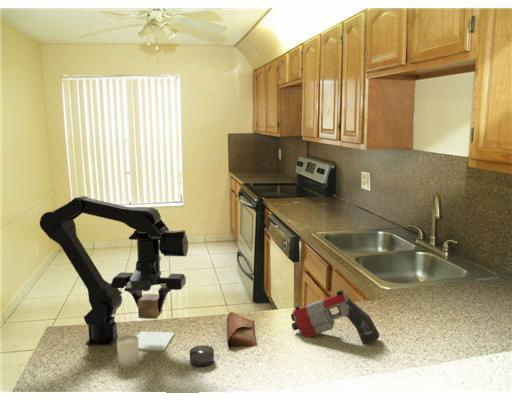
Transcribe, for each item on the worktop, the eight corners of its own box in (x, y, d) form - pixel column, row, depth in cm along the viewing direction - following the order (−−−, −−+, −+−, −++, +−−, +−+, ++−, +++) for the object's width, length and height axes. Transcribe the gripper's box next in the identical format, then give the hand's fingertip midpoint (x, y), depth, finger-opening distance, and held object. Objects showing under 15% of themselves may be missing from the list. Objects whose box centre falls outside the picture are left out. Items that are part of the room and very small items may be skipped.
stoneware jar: (115, 367, 109) (113, 344, 108) (122, 357, 114) (121, 335, 113) (135, 368, 108) (134, 344, 107) (142, 358, 113) (141, 335, 112)
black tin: (187, 367, 109) (186, 356, 108) (192, 356, 115) (192, 344, 114) (211, 368, 108) (211, 356, 108) (215, 356, 114) (215, 345, 114)
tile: (127, 349, 118) (127, 347, 118) (140, 333, 128) (140, 331, 128) (164, 350, 117) (164, 348, 117) (174, 334, 127) (174, 332, 127)
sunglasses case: (259, 346, 119) (246, 326, 118) (237, 360, 119) (224, 340, 118) (254, 320, 137) (243, 302, 136) (234, 332, 137) (223, 314, 136)
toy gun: (309, 354, 130) (288, 307, 131) (379, 331, 124) (356, 282, 124) (306, 362, 125) (283, 314, 126) (378, 339, 119) (355, 288, 119)
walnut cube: (138, 318, 119) (137, 300, 119) (144, 311, 124) (143, 293, 124) (156, 318, 119) (156, 300, 118) (162, 311, 124) (161, 294, 123)
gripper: (102, 262, 112) (104, 322, 114) (174, 264, 111) (176, 324, 113) (119, 251, 123) (121, 306, 125) (185, 253, 122) (186, 308, 124)
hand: (150, 311), depth 121 cm, fingers closed on walnut cube, 5 cm apart
